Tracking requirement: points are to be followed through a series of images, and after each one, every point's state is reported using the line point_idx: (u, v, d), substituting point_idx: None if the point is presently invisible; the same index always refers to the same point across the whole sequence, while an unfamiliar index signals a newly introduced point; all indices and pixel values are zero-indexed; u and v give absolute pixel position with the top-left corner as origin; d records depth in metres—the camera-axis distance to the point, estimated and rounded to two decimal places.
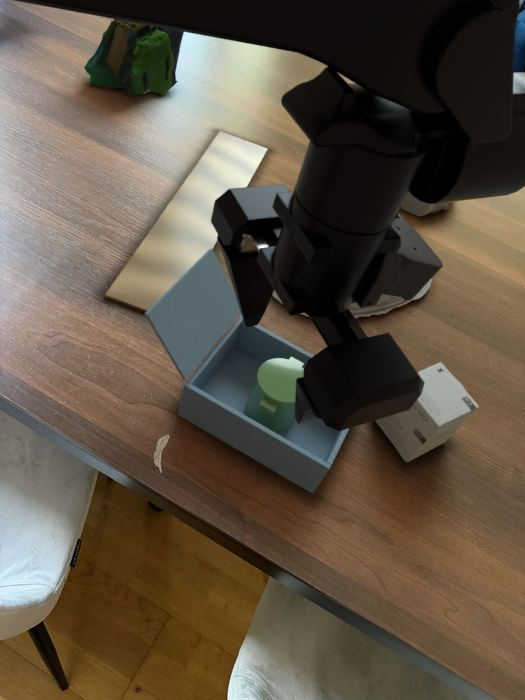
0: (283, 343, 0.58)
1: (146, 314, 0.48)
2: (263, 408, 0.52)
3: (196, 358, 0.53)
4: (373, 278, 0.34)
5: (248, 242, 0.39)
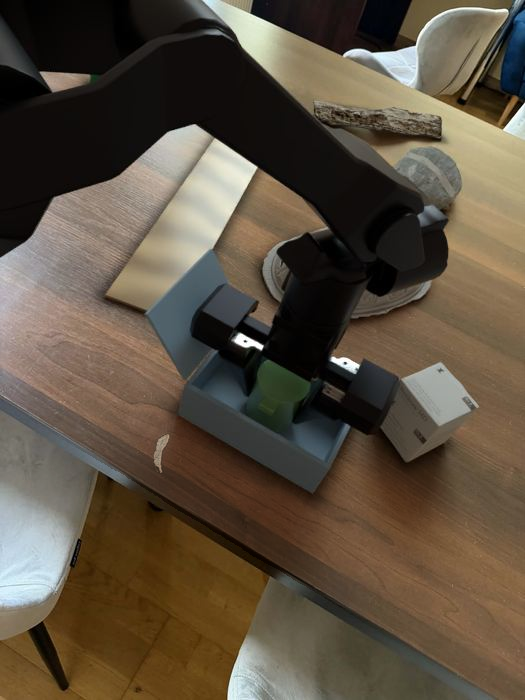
0: None
1: (146, 314, 0.48)
2: (263, 408, 0.52)
3: (196, 358, 0.53)
4: None
5: (249, 349, 0.51)
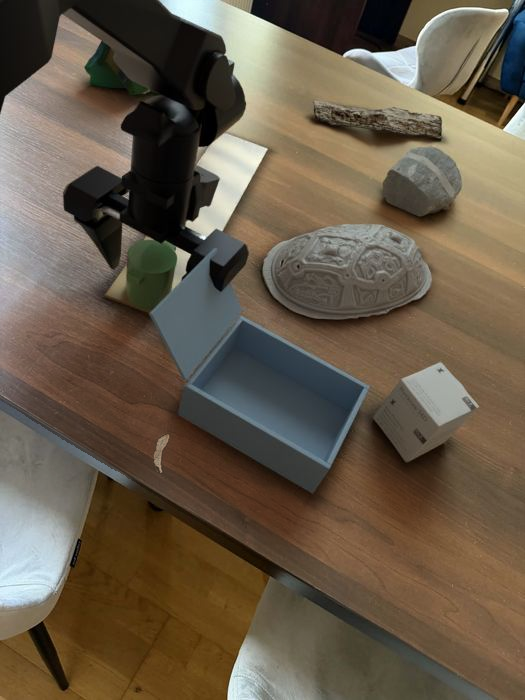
0: (283, 343, 0.58)
1: (151, 314, 0.48)
2: (130, 278, 0.59)
3: (197, 358, 0.53)
4: (193, 202, 0.56)
5: (99, 213, 0.58)
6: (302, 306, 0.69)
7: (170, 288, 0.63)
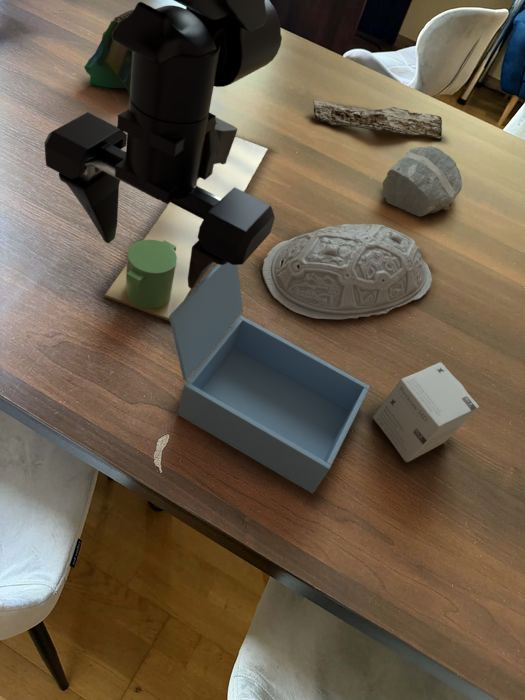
0: (283, 343, 0.58)
1: (171, 317, 0.47)
2: (130, 278, 0.59)
3: (199, 359, 0.53)
4: (207, 153, 0.45)
5: (91, 169, 0.47)
6: (302, 306, 0.69)
7: (170, 288, 0.63)
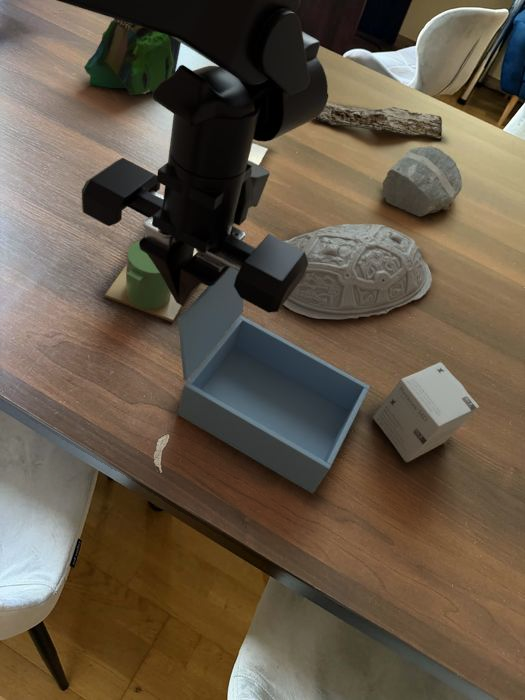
0: (283, 343, 0.58)
1: (180, 320, 0.47)
2: (130, 278, 0.59)
3: (199, 359, 0.53)
4: (242, 201, 0.46)
5: (172, 240, 0.47)
6: (302, 306, 0.69)
7: None
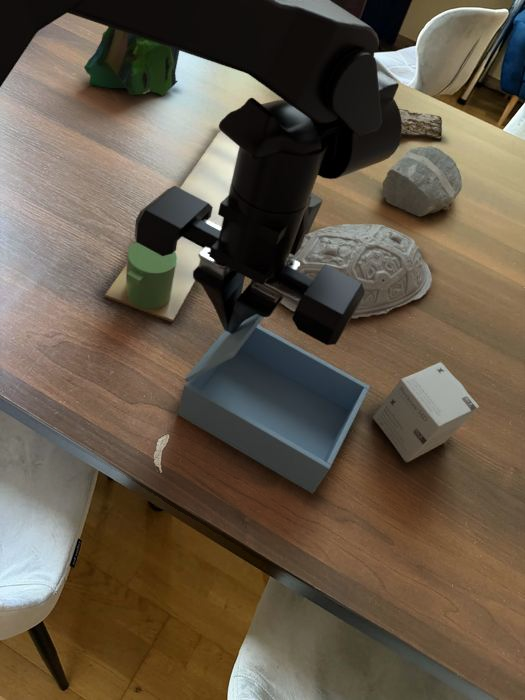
0: (283, 343, 0.58)
1: (232, 355, 0.47)
2: (130, 278, 0.59)
3: None
4: (299, 232, 0.45)
5: (227, 270, 0.46)
6: None
7: (170, 288, 0.63)
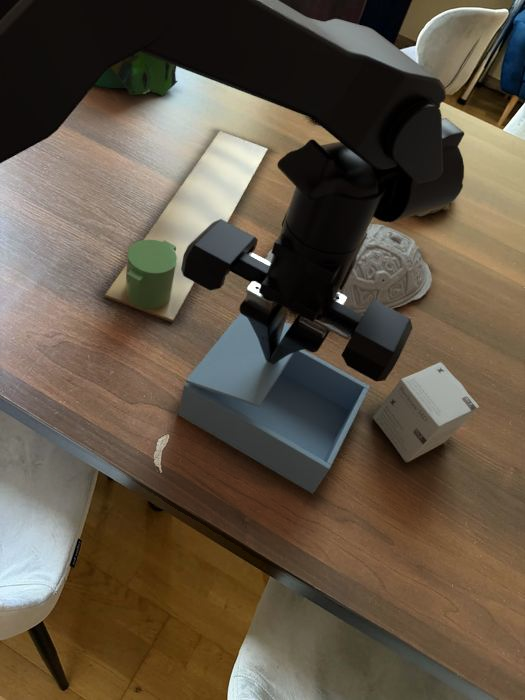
0: None
1: (257, 405, 0.49)
2: (130, 278, 0.59)
3: None
4: (348, 267, 0.45)
5: (274, 304, 0.46)
6: None
7: (170, 288, 0.63)
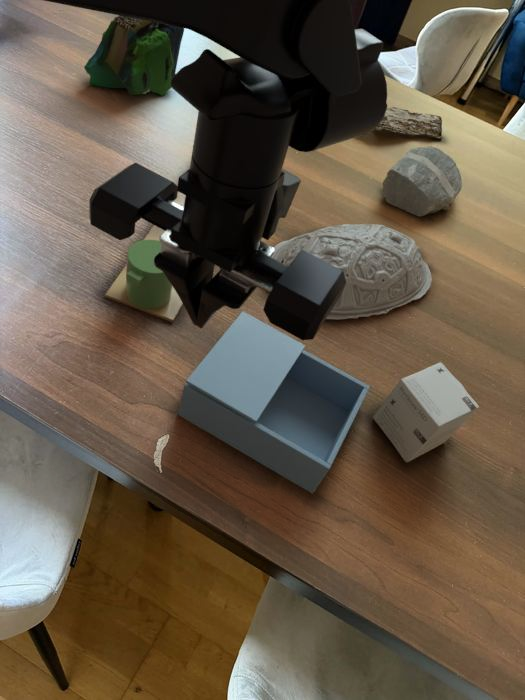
0: None
1: (255, 422, 0.51)
2: (130, 278, 0.59)
3: None
4: (272, 213, 0.40)
5: (191, 256, 0.41)
6: None
7: (170, 288, 0.63)
